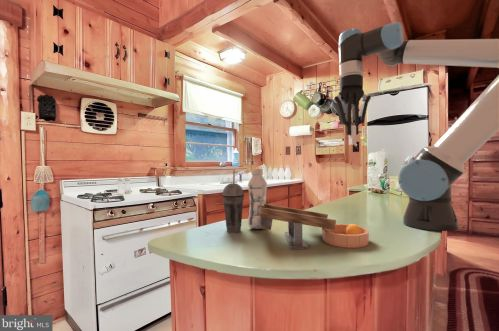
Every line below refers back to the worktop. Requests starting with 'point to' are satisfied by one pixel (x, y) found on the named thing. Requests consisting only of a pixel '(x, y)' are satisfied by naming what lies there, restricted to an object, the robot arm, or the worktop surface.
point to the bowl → (345, 237)
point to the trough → (292, 217)
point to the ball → (353, 229)
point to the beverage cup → (233, 205)
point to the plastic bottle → (256, 197)
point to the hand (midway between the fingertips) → (352, 144)
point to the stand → (295, 236)
